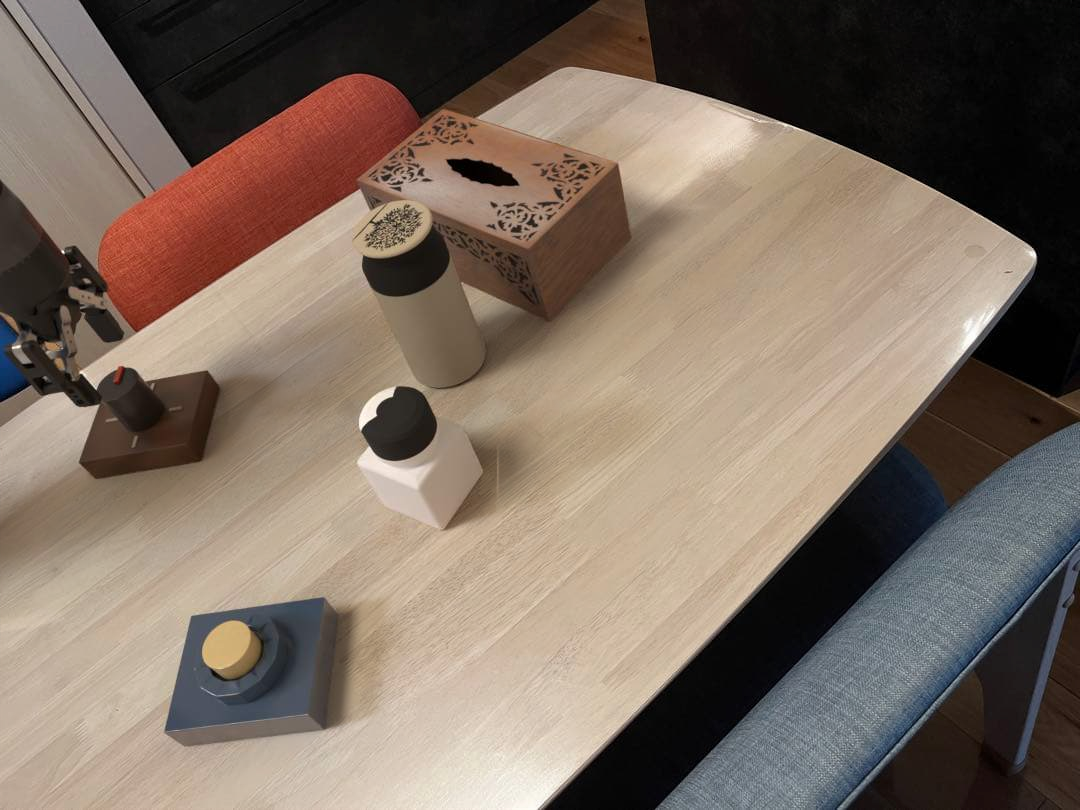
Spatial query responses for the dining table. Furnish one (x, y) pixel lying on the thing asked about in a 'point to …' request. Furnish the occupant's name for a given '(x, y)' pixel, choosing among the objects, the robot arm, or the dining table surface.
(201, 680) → the button housing
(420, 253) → the travel mug
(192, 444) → the dial panel
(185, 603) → the dining table surface
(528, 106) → the dining table surface
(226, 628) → the tan button cap
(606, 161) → the tissue box cover
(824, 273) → the dining table surface
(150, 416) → the dial
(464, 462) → the medicine bottle
